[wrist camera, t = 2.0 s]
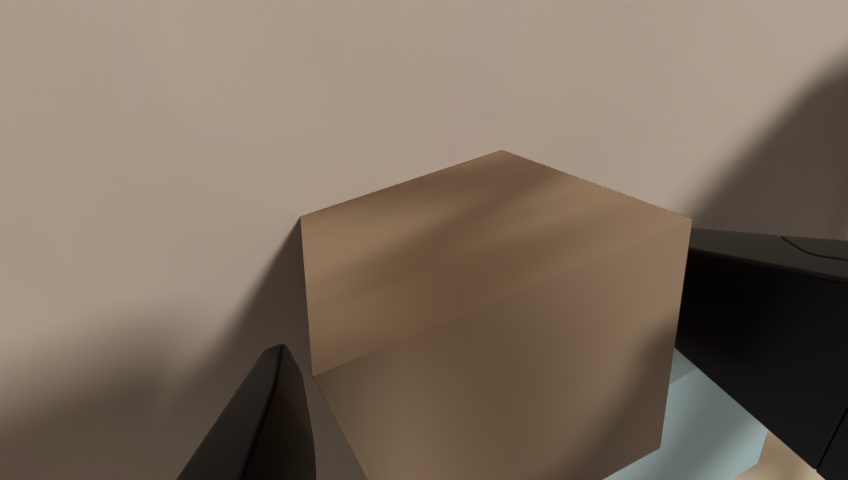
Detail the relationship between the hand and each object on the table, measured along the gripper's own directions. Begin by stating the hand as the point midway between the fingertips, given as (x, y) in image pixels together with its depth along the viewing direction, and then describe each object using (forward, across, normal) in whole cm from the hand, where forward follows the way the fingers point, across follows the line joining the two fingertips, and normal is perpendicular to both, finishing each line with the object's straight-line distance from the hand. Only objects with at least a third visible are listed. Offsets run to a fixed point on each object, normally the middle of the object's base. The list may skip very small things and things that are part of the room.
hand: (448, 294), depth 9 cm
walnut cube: (+1, 0, 0) cm, 1 cm away
